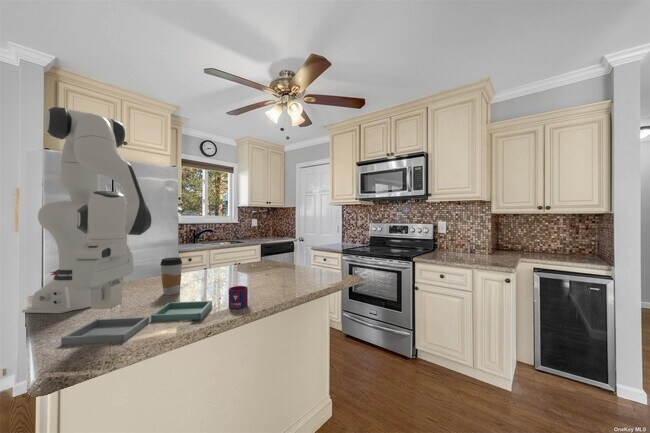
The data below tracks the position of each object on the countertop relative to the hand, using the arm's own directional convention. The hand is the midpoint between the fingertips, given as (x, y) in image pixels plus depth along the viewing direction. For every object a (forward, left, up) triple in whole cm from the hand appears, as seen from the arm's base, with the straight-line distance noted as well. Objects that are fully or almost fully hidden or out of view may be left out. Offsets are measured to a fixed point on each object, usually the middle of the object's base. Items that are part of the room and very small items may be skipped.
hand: (106, 297), depth 78 cm
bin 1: (+1, 0, -11) cm, 11 cm away
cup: (+33, +22, -11) cm, 41 cm away
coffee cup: (+1, +42, -11) cm, 43 cm away
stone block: (0, 0, -3) cm, 2 cm away
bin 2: (+16, +14, -11) cm, 24 cm away
